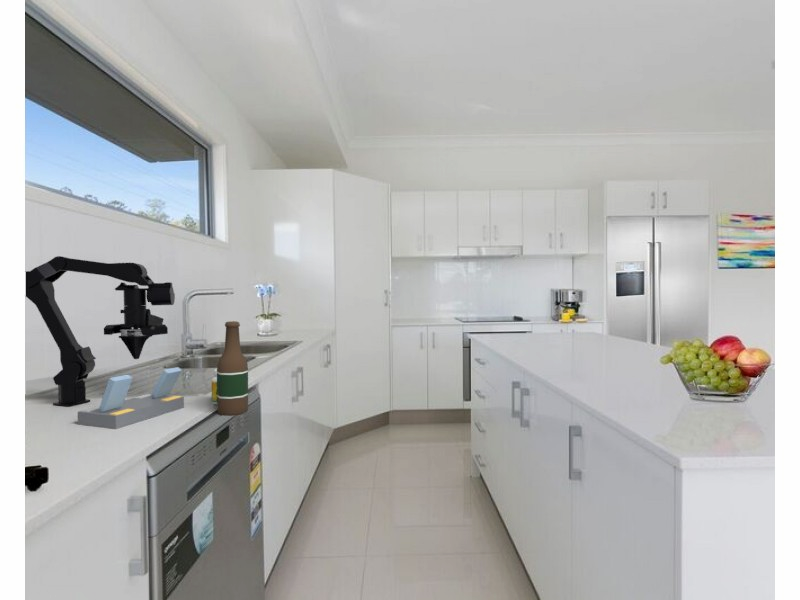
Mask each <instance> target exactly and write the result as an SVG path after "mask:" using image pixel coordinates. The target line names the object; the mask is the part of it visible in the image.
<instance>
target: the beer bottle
mask: <svg viewBox="0 0 800 600" xmlns="http://www.w3.org/2000/svg"><path fill="white" fill-rule="evenodd" d="M240 326H241V324H240V322H239V321H235V320H233V321H226V322H225V323H224V327H225V339H224V349H223V353H222V354H221V356H220V357H219V360H218V362H217V365H216V366H217V367H216V369H217V405H216V408H217V414H219V415H220V416H225V417H226V416H228V417H234V416H240V415H243V414H245V413H247V412H248V410H249V365H248V362H247V361H248V360H247V359H246V357H245V355H244V354H243V352H242V349H241V343H240V342H241V341H240Z"/></svg>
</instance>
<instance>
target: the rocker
mask: <svg viewBox="0 0 800 600" xmlns="http://www.w3.org/2000/svg"><path fill="white" fill-rule="evenodd" d="M182 371H183V370H182V369H181V368H180V367H178V366H177V367H170V368H165V369H163V370H162V372H161V374H160V376H159V378H158V381H157V382H156V384H155V385H154V388H153V390H152V392H151V393H150V394H151V395H152V398H157V397H161V396H164V395H170V394H171V392H172V390H173V389H174V387H175V385H176V383H177V381H178V380H179V378H180V376H181V374H182Z"/></svg>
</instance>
